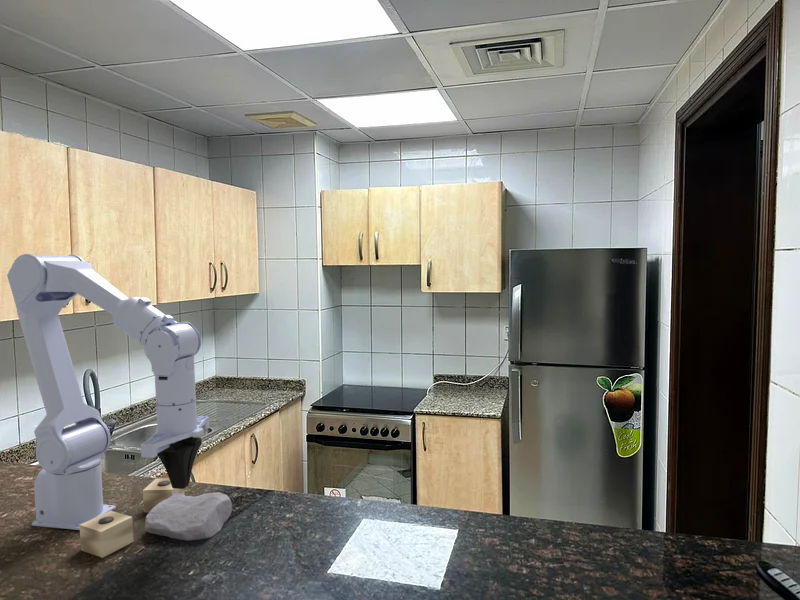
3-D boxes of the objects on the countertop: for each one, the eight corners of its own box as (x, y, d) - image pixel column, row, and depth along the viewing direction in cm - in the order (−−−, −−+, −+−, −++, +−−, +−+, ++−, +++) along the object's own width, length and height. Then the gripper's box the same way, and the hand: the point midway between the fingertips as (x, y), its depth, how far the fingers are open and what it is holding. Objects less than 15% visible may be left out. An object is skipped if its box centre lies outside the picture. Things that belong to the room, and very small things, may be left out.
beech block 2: (144, 513, 91) (142, 489, 91) (157, 500, 96) (155, 477, 96) (173, 512, 91) (172, 488, 91) (184, 499, 96) (183, 476, 96)
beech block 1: (81, 551, 79) (79, 523, 79) (112, 535, 84) (111, 509, 83) (102, 558, 77) (101, 530, 77) (133, 542, 81) (132, 515, 81)
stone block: (212, 553, 81) (236, 510, 91) (207, 526, 80) (232, 486, 90) (138, 553, 82) (170, 511, 92) (132, 526, 81) (165, 487, 91)
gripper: (169, 415, 75) (174, 509, 76) (224, 391, 89) (227, 470, 90) (126, 413, 76) (131, 505, 77) (186, 390, 91) (190, 468, 92)
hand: (180, 486), depth 84 cm, fingers closed
